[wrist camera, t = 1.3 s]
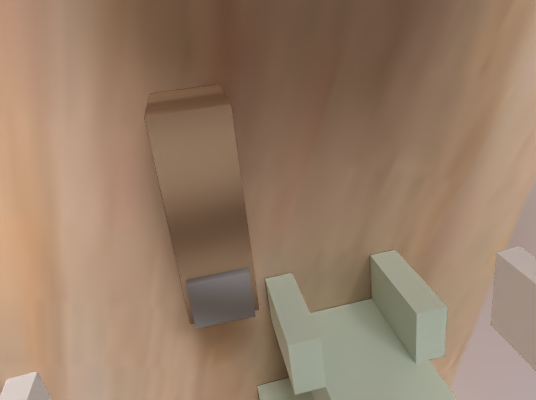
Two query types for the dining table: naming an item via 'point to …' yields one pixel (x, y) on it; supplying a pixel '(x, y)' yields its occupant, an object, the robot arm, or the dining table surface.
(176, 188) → the brown boxy piece
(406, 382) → the pale green block
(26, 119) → the dining table surface
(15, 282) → the dining table surface
